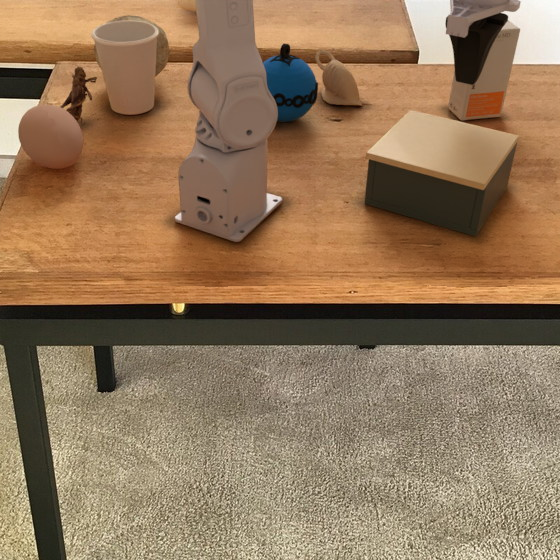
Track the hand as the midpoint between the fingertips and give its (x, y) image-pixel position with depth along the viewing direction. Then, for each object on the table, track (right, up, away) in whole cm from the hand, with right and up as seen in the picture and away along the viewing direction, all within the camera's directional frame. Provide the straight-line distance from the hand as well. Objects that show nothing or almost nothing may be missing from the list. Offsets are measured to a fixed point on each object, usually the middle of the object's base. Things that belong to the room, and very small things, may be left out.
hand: (466, 81), depth 85 cm
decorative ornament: (-13, +3, +21) cm, 25 cm away
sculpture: (-40, +7, +24) cm, 47 cm away
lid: (-3, -8, -3) cm, 9 cm away
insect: (-45, +1, +14) cm, 48 cm away
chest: (-3, -13, +1) cm, 13 cm away
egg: (-49, -3, +6) cm, 50 cm away
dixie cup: (-40, +1, +17) cm, 44 cm away
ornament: (-20, -1, +15) cm, 25 cm away
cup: (-31, +27, +48) cm, 63 cm away
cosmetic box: (+5, 0, +18) cm, 19 cm away
